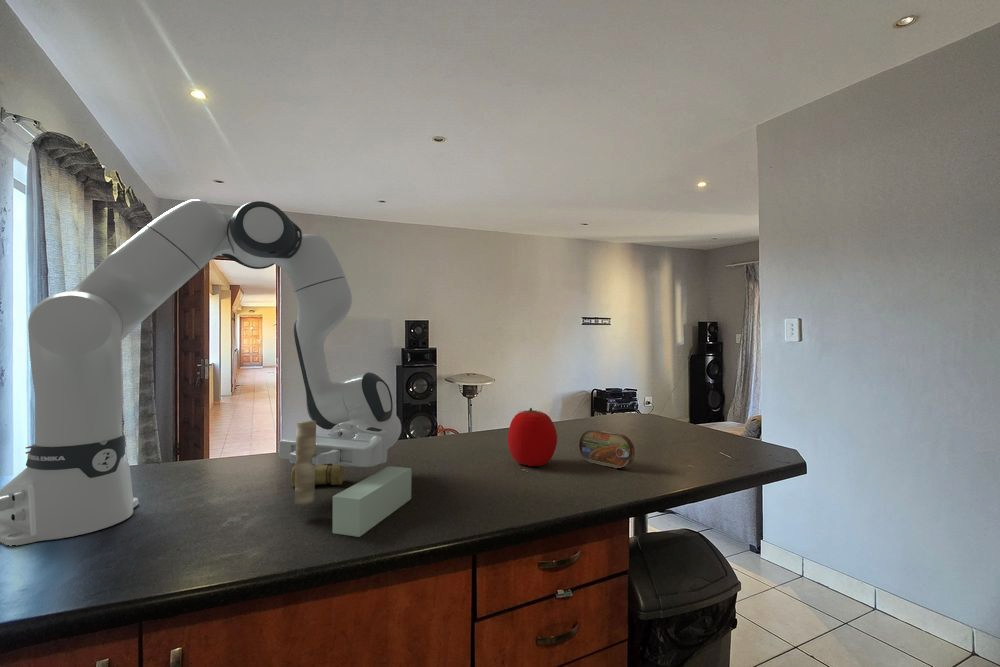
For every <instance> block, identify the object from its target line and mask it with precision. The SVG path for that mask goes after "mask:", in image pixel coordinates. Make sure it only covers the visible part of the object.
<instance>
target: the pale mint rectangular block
mask: <svg viewBox="0 0 1000 667" xmlns="http://www.w3.org/2000/svg"><path fill="white" fill-rule="evenodd" d="M410 500H412V468H410V467H402V466H401V467H400V466H390V465H388V466H386V467H385V468H382V469H380V470H379V471H377V472H376V473H373V474H372V475H369V476H368V477H367V478H364V479H362V480H361V481H359V482H357V483H355V484H353V485H350V486H349V487H348V488H346V489H344V490H342V491H339V492H338V493H336V494H335V495H333V496H332V529H331V530H332V534H336V535H344V536H351V537H357V538H360V537H361V536H363V535H364V534H366V533H367V532H368V531H369V530H372V528H373V527H375V526H376V525H378V524H379V523H380V522H383V520H385V519H386V518H387V517H389V516H390V515H391V514H393V513H394V512H396V511H397V510H398V509H400V508H401V507H402V506H404V505H405V504H407V503H408V502H409V501H410Z"/></svg>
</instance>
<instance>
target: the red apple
mask: <svg viewBox="0 0 1000 667" xmlns="http://www.w3.org/2000/svg"><path fill="white" fill-rule="evenodd" d="M507 444H508V449H509V452H510V455H511V458H513V459H514V461H515V462H516V463H518V464H520V465H522V464H523V465H524V466H526V465H528V466H527V467H531V466H539V467H542V466H545V465H546V464H548V463H549V462H550V461H551V459H552V458H553V456H554V454H555V451H556V448H557V444H558V433H557V429H556V426H555V424H554V422H553V420H552V419H551V417H550V416H549V415H548V414H547V413H545V412H544V411H542V410H535V409H534V410H533V407H529V409H528V410H523V411H522V410H520V411H518V413H517V414H515V415H514V417H513V418H512V420H511V421H510V424H509V427H508V433H507ZM523 465H522V466H523Z"/></svg>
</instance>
